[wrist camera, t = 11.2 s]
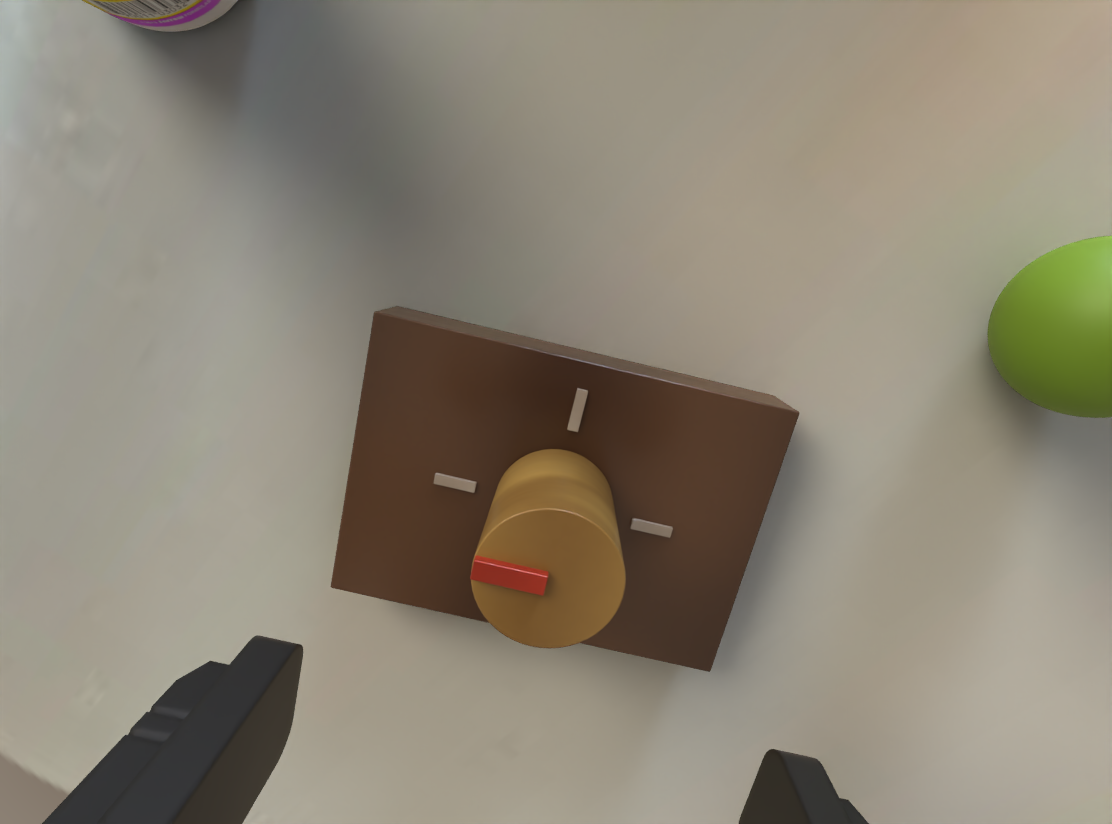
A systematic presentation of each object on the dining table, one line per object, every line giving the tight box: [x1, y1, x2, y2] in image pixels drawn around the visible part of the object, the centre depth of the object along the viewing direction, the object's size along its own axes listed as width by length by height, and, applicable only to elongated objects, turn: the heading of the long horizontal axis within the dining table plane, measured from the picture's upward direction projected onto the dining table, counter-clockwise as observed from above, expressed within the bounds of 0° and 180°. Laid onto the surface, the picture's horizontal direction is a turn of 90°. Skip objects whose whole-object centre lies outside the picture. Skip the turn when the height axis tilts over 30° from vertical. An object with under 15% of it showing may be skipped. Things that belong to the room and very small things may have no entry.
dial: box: [470, 449, 626, 648], centre depth 18 cm, size 4×4×5 cm
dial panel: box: [331, 306, 799, 672], centre depth 21 cm, size 14×10×3 cm
